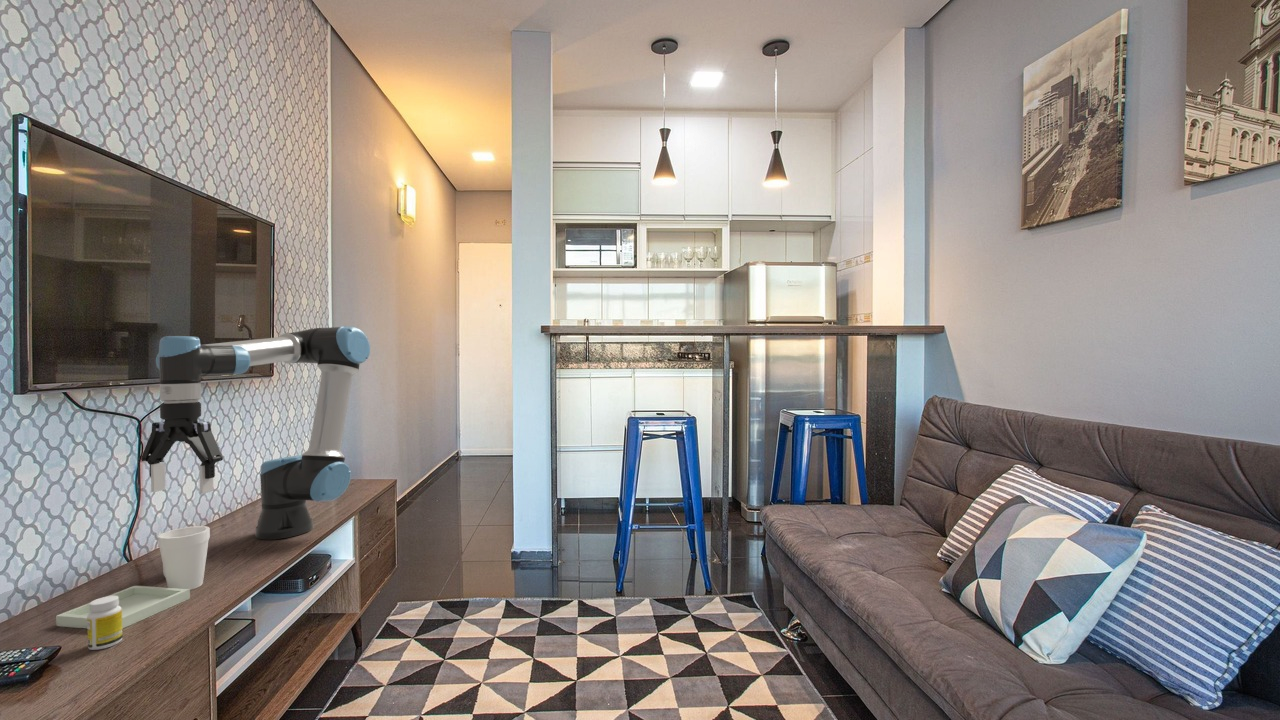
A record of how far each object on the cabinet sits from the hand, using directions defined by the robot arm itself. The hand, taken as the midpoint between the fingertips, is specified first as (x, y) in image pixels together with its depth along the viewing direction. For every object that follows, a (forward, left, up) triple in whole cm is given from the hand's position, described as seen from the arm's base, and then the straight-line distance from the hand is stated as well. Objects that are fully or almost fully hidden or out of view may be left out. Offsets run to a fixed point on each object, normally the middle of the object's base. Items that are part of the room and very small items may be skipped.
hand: (182, 491), depth 132 cm
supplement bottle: (+25, +11, -23) cm, 35 cm away
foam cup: (0, 0, -23) cm, 23 cm away
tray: (+13, 0, -23) cm, 26 cm away
